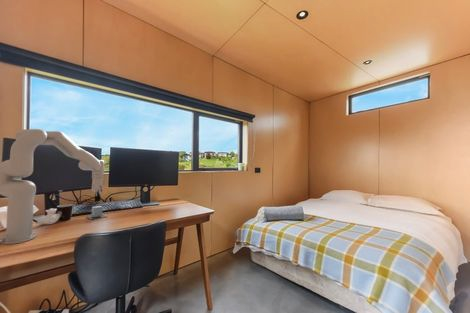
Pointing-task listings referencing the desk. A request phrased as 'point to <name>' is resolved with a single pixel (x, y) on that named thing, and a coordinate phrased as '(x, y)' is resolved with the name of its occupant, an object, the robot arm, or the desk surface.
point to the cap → (97, 211)
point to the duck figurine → (49, 217)
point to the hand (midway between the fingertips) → (97, 201)
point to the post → (96, 217)
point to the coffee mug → (64, 211)
